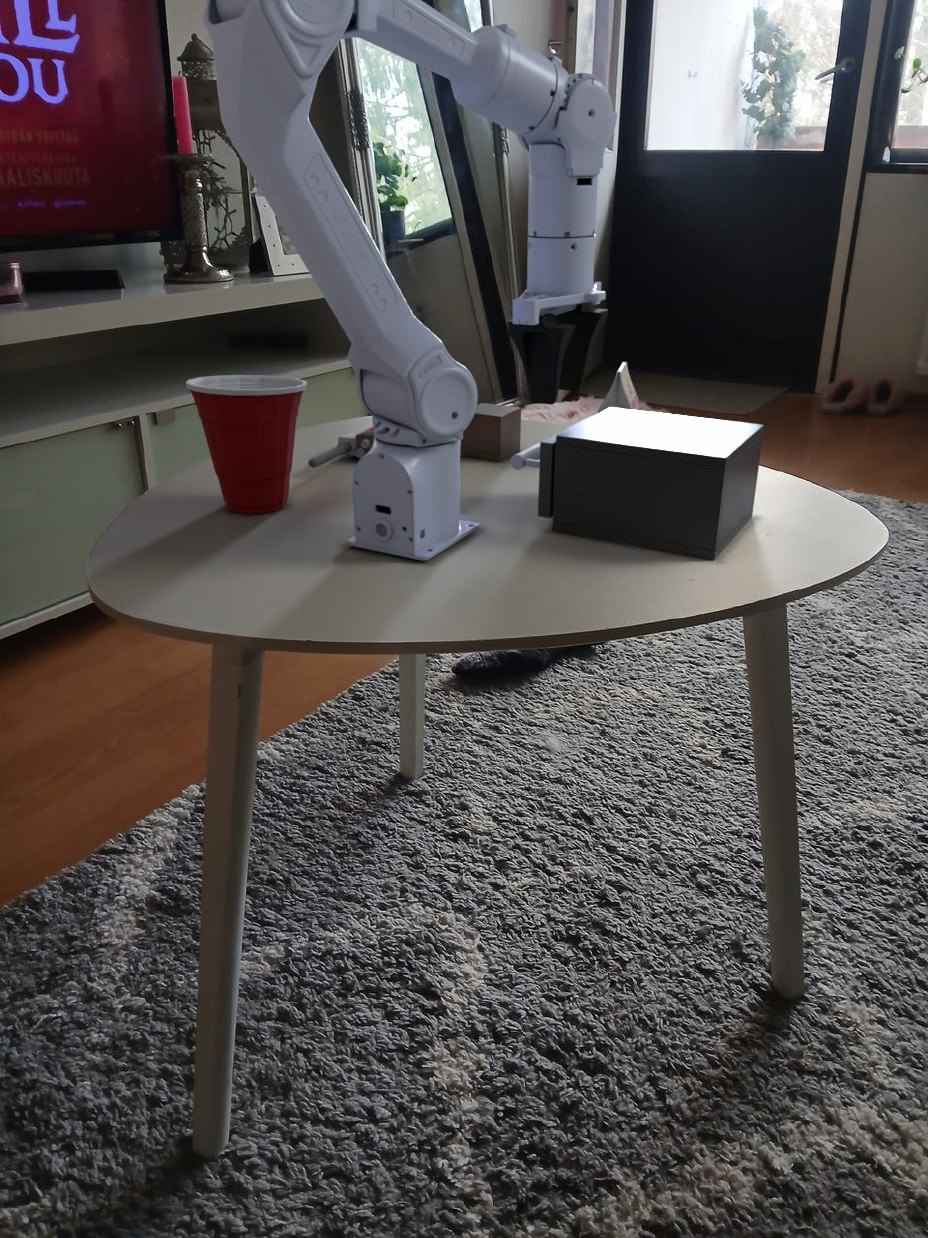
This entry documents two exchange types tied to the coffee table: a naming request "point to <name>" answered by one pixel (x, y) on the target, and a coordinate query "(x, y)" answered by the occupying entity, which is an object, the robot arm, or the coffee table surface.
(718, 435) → the cabinet
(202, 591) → the coffee table surface
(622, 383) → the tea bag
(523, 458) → the drawer
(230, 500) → the plastic cup
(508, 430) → the block
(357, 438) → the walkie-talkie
